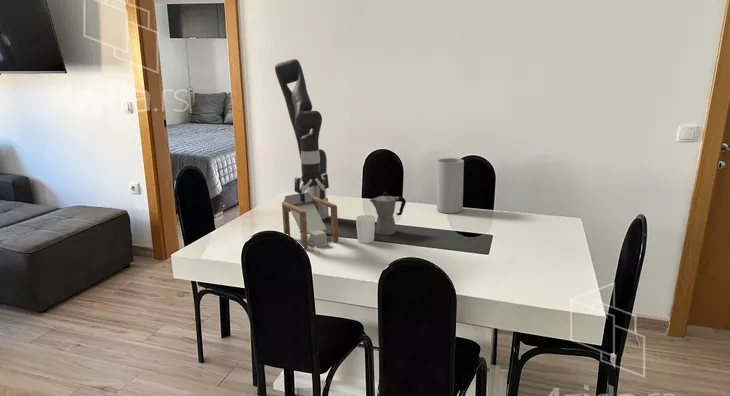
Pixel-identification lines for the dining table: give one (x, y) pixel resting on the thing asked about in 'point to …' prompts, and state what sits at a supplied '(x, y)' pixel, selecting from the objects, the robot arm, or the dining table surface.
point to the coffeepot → (386, 213)
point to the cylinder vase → (450, 185)
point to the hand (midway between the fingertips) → (312, 200)
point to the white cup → (365, 228)
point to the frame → (304, 223)
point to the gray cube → (317, 238)
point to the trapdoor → (311, 212)
